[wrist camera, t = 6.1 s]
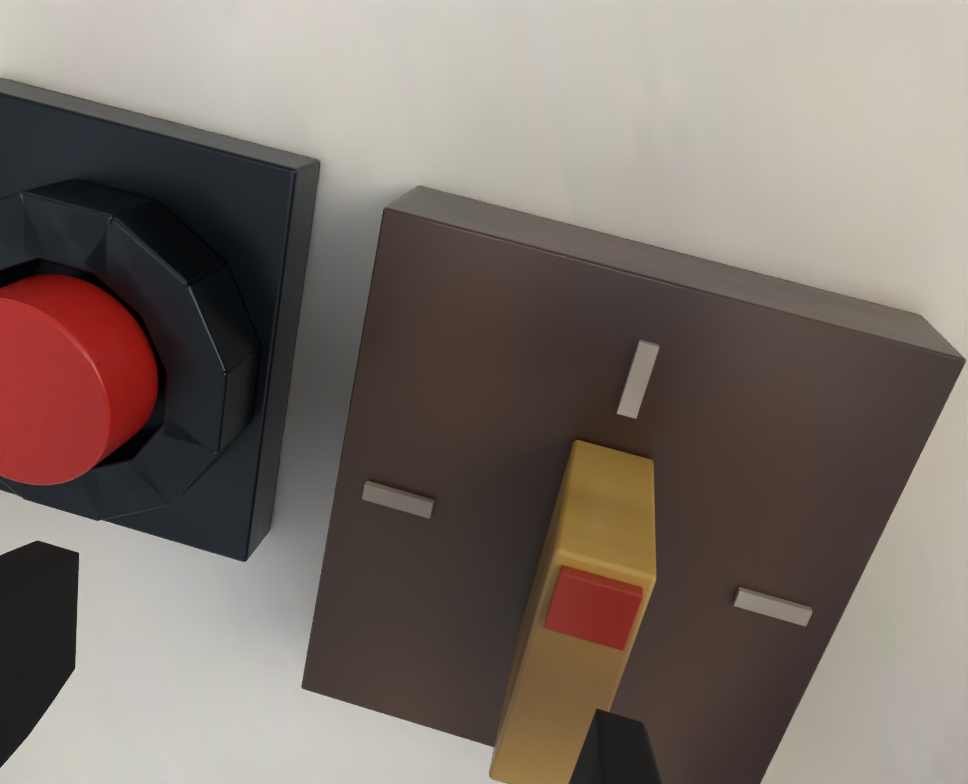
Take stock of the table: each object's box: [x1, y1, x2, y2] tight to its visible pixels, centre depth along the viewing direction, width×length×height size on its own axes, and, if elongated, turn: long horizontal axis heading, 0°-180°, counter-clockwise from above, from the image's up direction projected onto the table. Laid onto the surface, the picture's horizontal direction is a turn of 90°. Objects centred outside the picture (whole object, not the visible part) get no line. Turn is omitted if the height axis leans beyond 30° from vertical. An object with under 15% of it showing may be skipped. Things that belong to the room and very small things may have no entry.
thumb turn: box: [489, 440, 656, 784], centre depth 15 cm, size 5×2×4 cm, turn 168°
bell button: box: [0, 274, 158, 485], centre depth 16 cm, size 4×4×2 cm
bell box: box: [0, 78, 320, 562], centre depth 18 cm, size 9×7×3 cm
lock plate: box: [302, 186, 966, 784], centre depth 18 cm, size 10×11×3 cm
